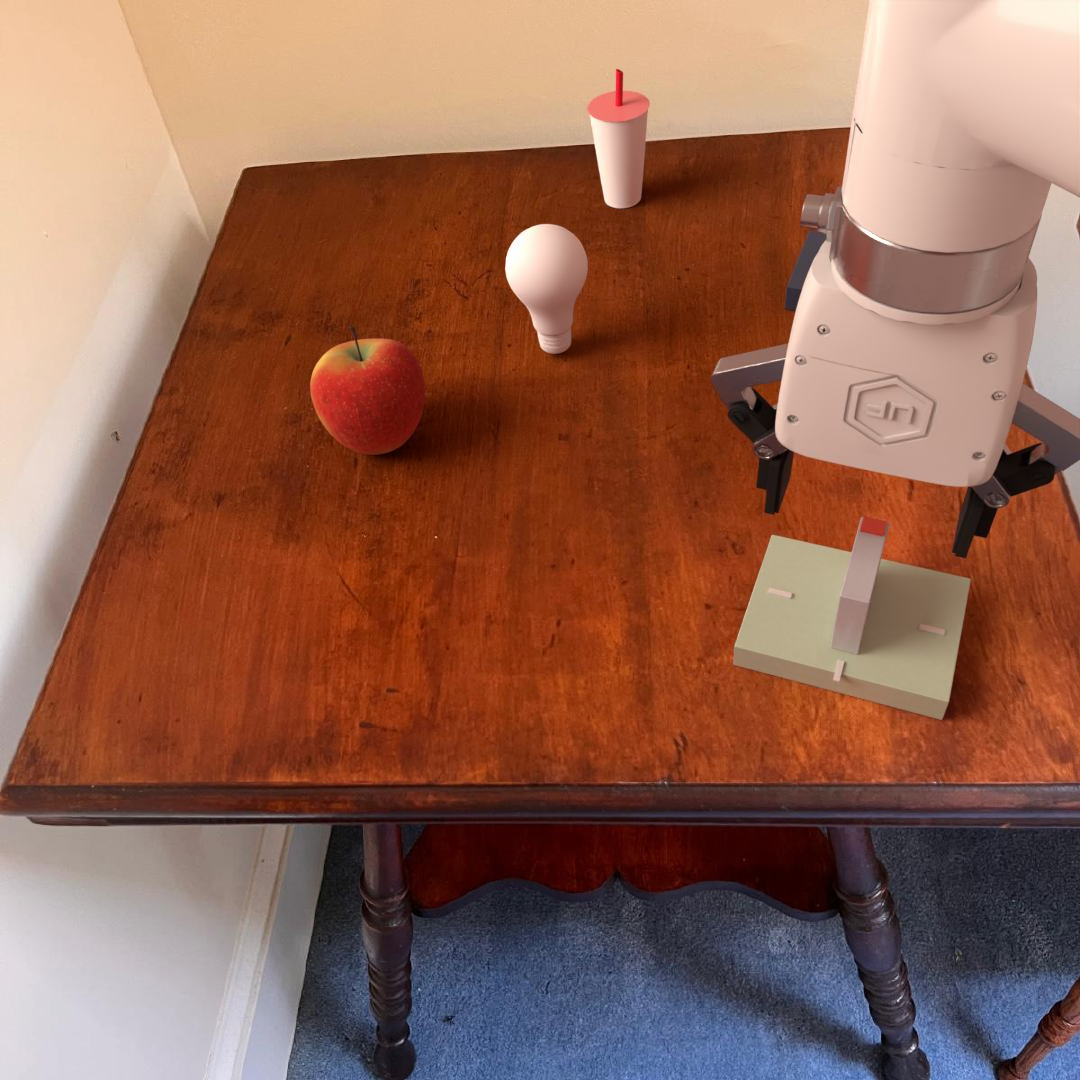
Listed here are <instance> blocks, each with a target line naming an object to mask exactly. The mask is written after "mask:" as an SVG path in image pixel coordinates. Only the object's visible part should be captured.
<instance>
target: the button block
mask: <svg viewBox="0 0 1080 1080" xmlns="http://www.w3.org/2000/svg"><path fill="white" fill-rule="evenodd" d="M825 241H826V234H824V233H818V231H817V230H812V229H810V230H808V233H807V235H806V237H805V240H804V243H803V245H802V248H801V250H800V252H799V255H798V258H797V260H796V263H795V265H794V268H793V270H792V273H791V275H790V278H789V280H788V281H787V282H788V283H787V285H786V290H785V303H784V310H788V311H794V312H796V308H797V305H798V301H799V298H800V294H801V291H802V288H803V285H804V282H805V279H806V277H807V274H808V272H809V269H810V267H811V265H812V262H813V260H814V258H815V256H816V255H817V254H818V252H819V250H820V248H821V246H822V244H823V243H824V242H825Z"/></svg>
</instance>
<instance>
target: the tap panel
mask: <svg viewBox="0 0 1080 1080" xmlns="http://www.w3.org/2000/svg"><path fill="white" fill-rule="evenodd" d="M768 541H769V542H768V545H767V548H766V550H765V554H764V557H763V559H762V562H761V565H760V569H759V571H758V574H757V578H756V579H755V583H754V586H753V589H752V592H751V595H750V598H749V601H748V603H747V607H746V610H745V612H744V615H743V616H744V617H743V619H742V622H741V624H740V628H739V631H738V633H737V637H736V639H735V643H734V645H733V659H732V660H733V661H732V663H733V666H737V667H741V668H743V669H748V670H751V671H755V672H758V673H763V674H766V675H769V676H770V675H771V676H774V677H778V678H782V679H785V680H788V681H792V682H796V683H801V684H805V685H808V686H811V687H816V688H819V689H823V690H827V691H831V692H834V693H837V694H841V695H844V696H845V695H846V696H850V697H854V698H855V699H856V698H857V699H861V700H865V701H869V702H872V703H876V704H879V705H882V706H887V707H890V708H894V709H898V710H902V711H906V712H910V713H913V714H916V715H921V716H925V717H928V718H932V719H936V720H939V721H943V719H944V717H945V715H946V711H947V710H948V709H947V708H948V706H949V704H950V700H951V695H952V694H951V693H952V688H953V682H954V676H955V671H956V666H957V660H958V655H959V648H960V645H961V637H962V634H963V633H962V632H963V627H964V621H965V615H966V609H967V604H968V598H969V594H970V593H969V592H970V588H971V581H972V579H971V577H970V578H969V577H966V576H960V575H957V574H952V573H948V572H943V571H939V570H934V569H930V568H925V567H920V566H916V565H911V564H907V563H906V564H905V563H902V562H897V561H893V560H890V559H884V558H882V559H881V563H880V567H879V572H878V576H877V580H876V584H875V588H874V592H873V596H872V600H871V604H870V608H869V612H868V617H867V621H866V625H865V629H864V633H863V637H862V641H861V645H860V649H859V653H858V654H853V653H849V652H845V651H841V650H837V649H833V648H830V644H831V639H832V633H833V628H834V623H835V618H836V612H837V607H838V602H839V597H840V593H841V589H842V585H843V582H844V578H845V574H846V571H847V567H848V563H849V560H850V556H851V552H852V551H848V550H843V549H839V548H835V547H830V546H826V545H820V544H816V543H813V542H807V541H803V540H798V539H794V538H791V537H790V538H789V537H786V536H781V535H776V534H771V535H770V538H769V540H768Z"/></svg>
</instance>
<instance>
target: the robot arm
mask: <svg viewBox="0 0 1080 1080" xmlns="http://www.w3.org/2000/svg"><path fill="white" fill-rule="evenodd" d="M853 102H854V103H853V109H852V117H851V123H850V130H849V138H848V142H847V150H846V151H847V152H846V158H845V165H844V171H843V178H842V185H841V186H839V185H838V186H837V187H836V190H835V191H834V193H828V192H825V194H824V195H818V194H811V193H807V194H805V195H806V196H805V198H804V201H803V205H802V209H801V214H800V221H799V222H800V224H799V225H800V227H801V228H806V229H814V230H816V231H818V233H824V234H826V241H825V242H824V243H823V244H822V246H821V248H820V250H819V252H818V254H817V255H816V256H815V258H814V260H813V262H812V265H811V267H810V269H809V272H808V274H807V277H806V279H805V282H804V285H803V288H802V291H801V294H800V298H799V301H798V305H797V308H796V311H794V312H795V313H794V317H793V319H792V320H793V321H792V325H791V330H790V334H789V339H788V343H783V344H778V345H775V346H770V347H766V348H765V347H764V348H761V349H756V350H752V351H747V352H742V353H739V354H735V355H729V356H725V357H722V358H720V359H719V360H718V361H716V365H715V367H714V370H713V372H712V373H711V376H710V381H711V384H712V386H713V387H714V390H715V392H716V393H717V395H718V396H719V399H720V400H721V402H722V404H723V405H725V407H726V408H727V410H728V411H727V417H728V420H729V421H730V422H731V423H732V424H733V425H734V426H735V427H736V428H737V429H738V430H739V431H740V432H741V433H742V434H743V435H744V436H745V437H747V439H748V440H749V441H751V443H752V444H753V445H752V447H751V448H752V450H751V451H752V453H753V455H754V456H755V457H756V458H758V467H757V477H756V489H761V490H765V491H766V493H765V503H764V511H763V513H764V514H768V515H771V516H775V514H779V513H780V510H781V506H782V504H783V500H784V497H785V495H786V492H787V490H788V486H789V483H790V480H791V477H792V476H791V475H792V469H793V461H794V454H795V453H796V454H798V455H800V456H803V457H806V458H810V459H814V460H819V461H823V462H828V463H832V464H837V465H841V466H845V467H850V468H855V469H859V470H864V471H869V472H874V473H879V474H884V475H888V476H892V477H893V476H894V477H898V478H903V479H909V480H913V481H918V482H924V483H929V484H934V485H938V486H939V485H940V486H946V487H954V488H967V489H966V492H965V495H964V497H963V501H962V503H961V507H960V510H959V513H958V518H957V523H956V528H955V534H954V539H953V544H952V549H951V553H952V554H954V556H955V557H958V558H962V559H966V558H967V556H968V554H969V551H970V547H971V545H972V542H973V540H974V537H978V538H983V539H988V535H989V534H990V531H991V528H992V526H993V523H994V520H995V518H996V514H997V512H998V509H1003V508H1004V507H1006V506H1007V505H1009V504H1010V501H1011V498H1012V497H1014V496H1017V495H1020V494H1023V493H1026V492H1029V491H1032V490H1035V489H1038V488H1041V487H1043V486H1046V485H1049V484H1050V483H1052V482H1053V481H1054V479H1055V476H1056V475H1057V474H1059V473H1060V472H1061V471H1062V472H1064V471H1066V470H1067V469H1069V468H1070V467H1071V466H1074V465H1075V464H1076V463H1077V462H1079V461H1080V418H1079V417H1078V416H1077V415H1075V414H1073V413H1072V412H1070V411H1068V410H1067V409H1065V408H1063V407H1062V406H1060V405H1059V404H1057V403H1055V402H1054V401H1052V400H1051V399H1049V398H1047V397H1046V396H1044V395H1043V394H1041V393H1040V392H1038V391H1036V390H1034V389H1033V388H1031V387H1029V386H1028V385H1026V384H1024V379H1025V376H1026V371H1027V368H1028V365H1029V364H1028V363H1029V359H1030V355H1031V351H1032V345H1033V342H1034V341H1033V340H1034V334H1035V326H1036V320H1037V311H1038V274H1037V270H1036V267H1035V264H1034V263H1033V262H1032V260H1031V258H1030V254H1031V250H1032V247H1033V244H1034V241H1035V238H1036V235H1037V232H1038V228H1039V226H1040V223H1041V219H1042V216H1043V211H1044V208H1045V205H1046V202H1047V199H1048V197H1049V196H1048V195H1049V193H1050V189H1051V188H1052V187H1051V186H1052V185H1055V186H1057V187H1058V188H1061V189H1062V190H1064V191H1066V192H1068V193H1070V194H1071V195H1074V196H1076V197H1078V198H1080V0H868V7H867V15H866V21H865V29H864V35H863V41H862V47H861V55H860V62H859V69H858V76H857V83H856V90H855V97H854V101H853ZM775 382H776V383H777V382H780V387H779V393H778V398H777V399H778V400H777V402H776V403H775V404H773V405H771V404H770V403H769V402H768V401H767V400H766V399H765V398H764V397H763V395H761V394H760V393H759V392H758V391H757V390H756V389H754V388H753V387H757V386H761V385H766V384H772V383H775ZM1011 425H1014V426H1016V427H1017V428H1019V429H1021V430H1022V431H1024V432H1025V433H1027V434H1029V435H1030V436H1032V437H1033V438H1035V439H1037V440H1038V441H1040V442H1039V443H1035V444H1033V445H1029V446H1027V447H1024V448H1022V449H1019V450H1015V451H1013V452H1012V451H1011V449H1010V448H1009V446H1008V445H1007V444H1006V442H1007V439H1008V437H1009V433H1010V429H1011Z"/></svg>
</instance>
